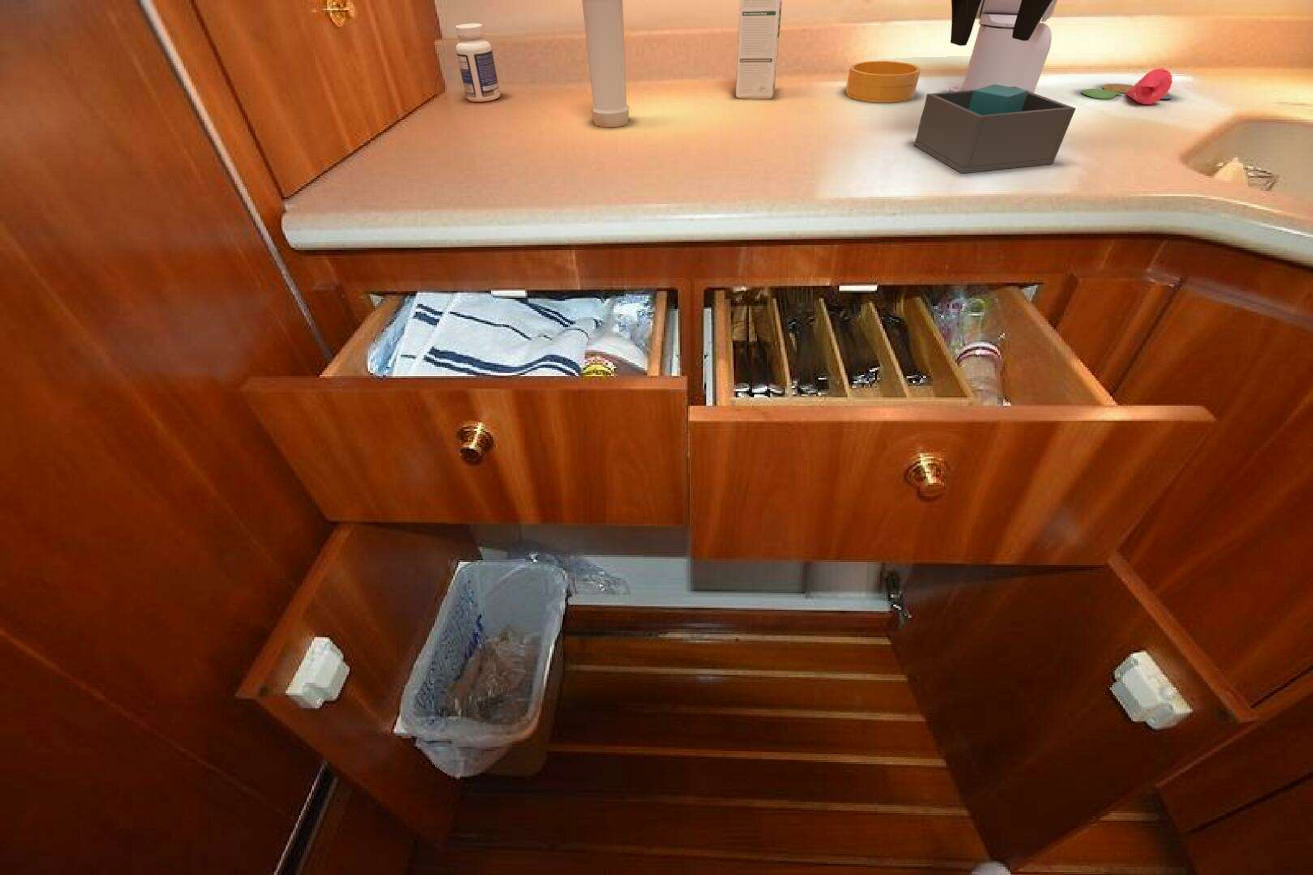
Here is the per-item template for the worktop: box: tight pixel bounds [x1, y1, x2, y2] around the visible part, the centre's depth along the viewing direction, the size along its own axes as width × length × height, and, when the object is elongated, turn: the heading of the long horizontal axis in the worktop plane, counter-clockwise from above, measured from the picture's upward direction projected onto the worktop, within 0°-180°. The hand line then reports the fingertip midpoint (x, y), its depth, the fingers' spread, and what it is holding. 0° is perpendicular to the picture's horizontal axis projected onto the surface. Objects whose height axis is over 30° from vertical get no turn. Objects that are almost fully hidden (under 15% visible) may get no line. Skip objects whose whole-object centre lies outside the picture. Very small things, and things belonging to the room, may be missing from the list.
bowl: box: [845, 60, 922, 104], centre depth 88 cm, size 10×10×4 cm
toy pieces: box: [1080, 67, 1173, 105], centre depth 84 cm, size 12×11×4 cm
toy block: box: [968, 84, 1028, 115], centre depth 66 cm, size 4×4×6 cm
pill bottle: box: [455, 22, 501, 103], centre depth 91 cm, size 5×5×10 cm
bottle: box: [581, 0, 630, 128], centre depth 74 cm, size 5×5×25 cm
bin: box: [913, 86, 1077, 174], centre depth 66 cm, size 11×10×6 cm
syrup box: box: [735, 0, 783, 100], centre depth 87 cm, size 6×6×14 cm
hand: (989, 41), depth 65 cm, fingers open, 7 cm apart
